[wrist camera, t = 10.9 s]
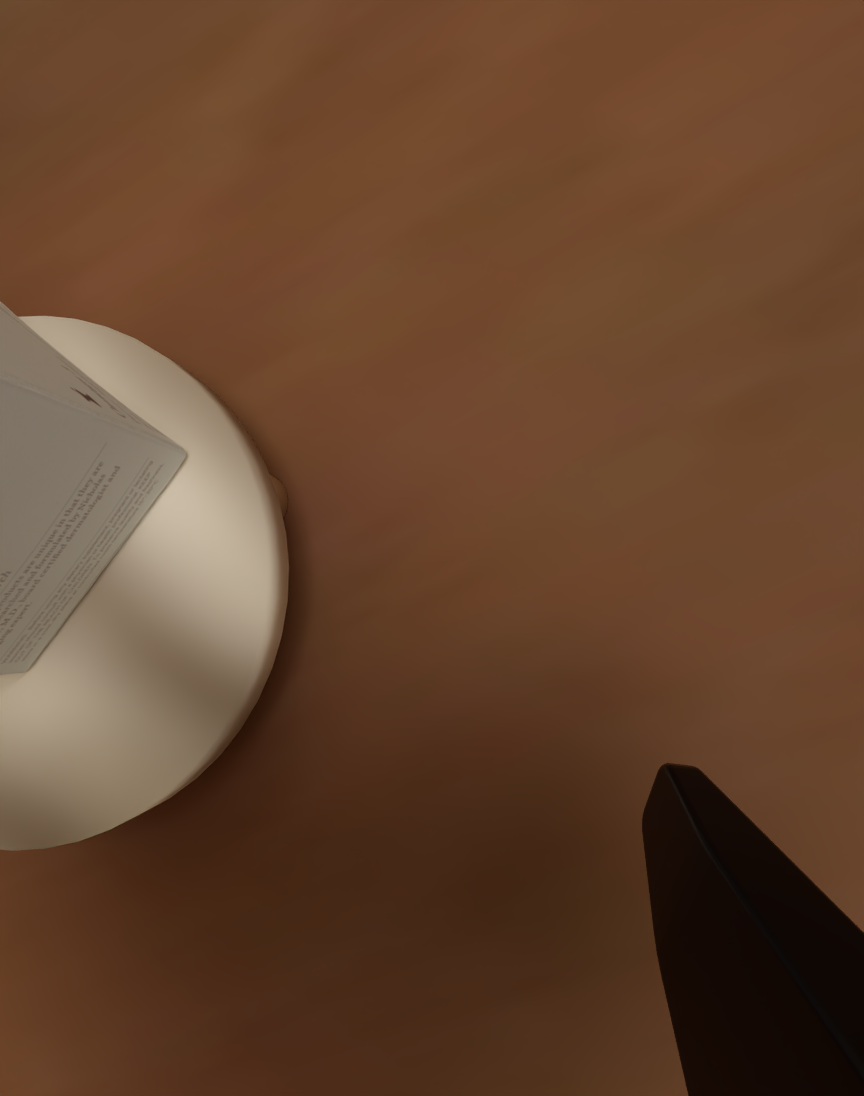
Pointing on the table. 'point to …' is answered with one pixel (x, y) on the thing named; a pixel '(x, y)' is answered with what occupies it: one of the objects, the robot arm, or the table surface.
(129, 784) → the stool
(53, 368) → the supplement box
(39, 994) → the table surface
